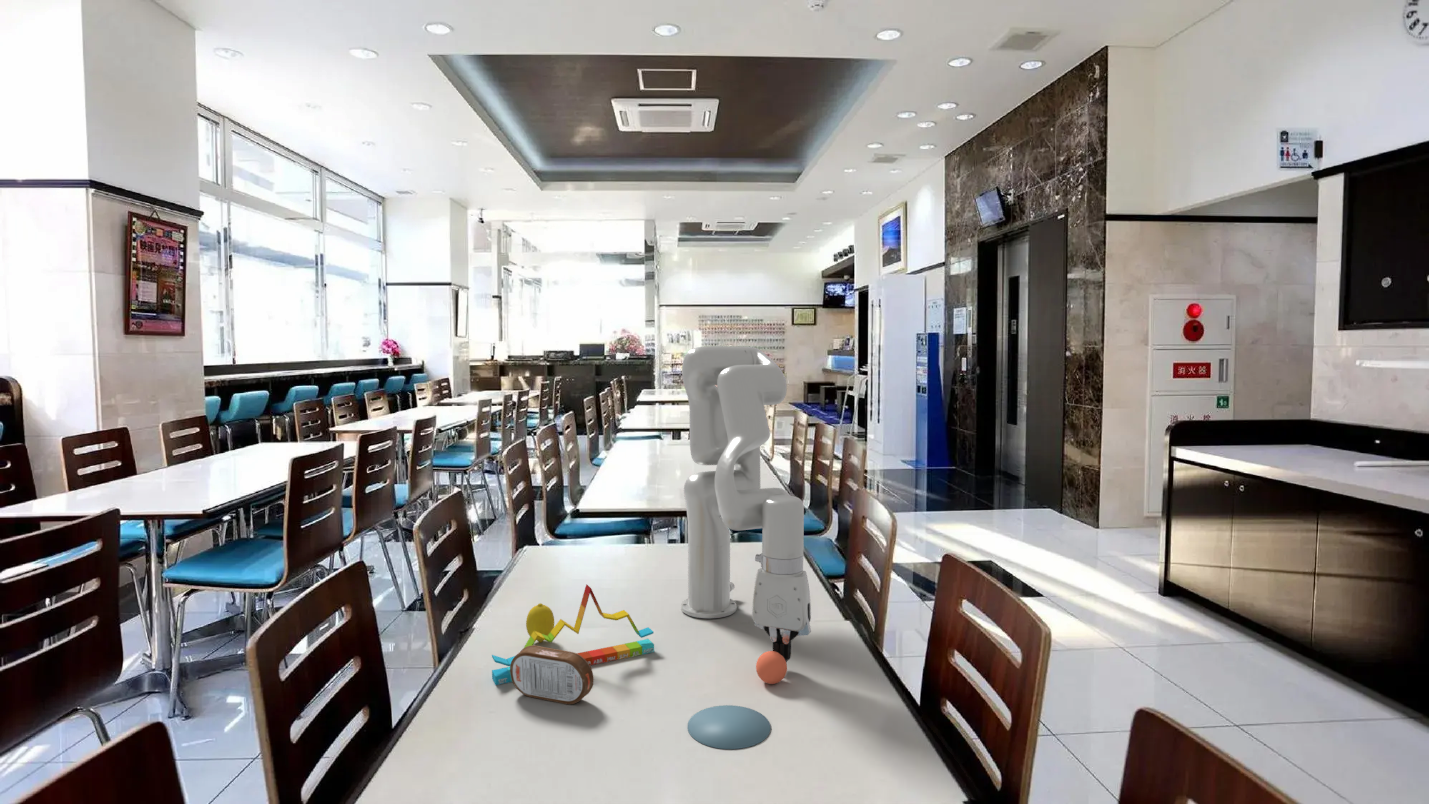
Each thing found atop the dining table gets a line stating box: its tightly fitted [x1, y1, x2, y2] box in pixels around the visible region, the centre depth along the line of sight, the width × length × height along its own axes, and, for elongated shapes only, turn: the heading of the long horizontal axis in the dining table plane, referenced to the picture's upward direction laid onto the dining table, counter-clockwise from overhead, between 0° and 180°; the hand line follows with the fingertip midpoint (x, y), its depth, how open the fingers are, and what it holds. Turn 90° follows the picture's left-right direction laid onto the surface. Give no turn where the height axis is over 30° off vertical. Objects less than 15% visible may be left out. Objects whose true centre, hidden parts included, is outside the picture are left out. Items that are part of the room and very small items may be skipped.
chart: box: [491, 584, 655, 686], centre depth 136 cm, size 30×3×15 cm, turn 118°
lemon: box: [525, 602, 555, 643], centre depth 147 cm, size 6×6×8 cm
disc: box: [687, 704, 771, 750], centre depth 115 cm, size 13×13×1 cm
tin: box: [509, 644, 595, 705], centre depth 123 cm, size 15×3×8 cm, turn 71°
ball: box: [755, 650, 788, 685], centre depth 130 cm, size 6×6×6 cm
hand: (781, 661), depth 135 cm, fingers closed
